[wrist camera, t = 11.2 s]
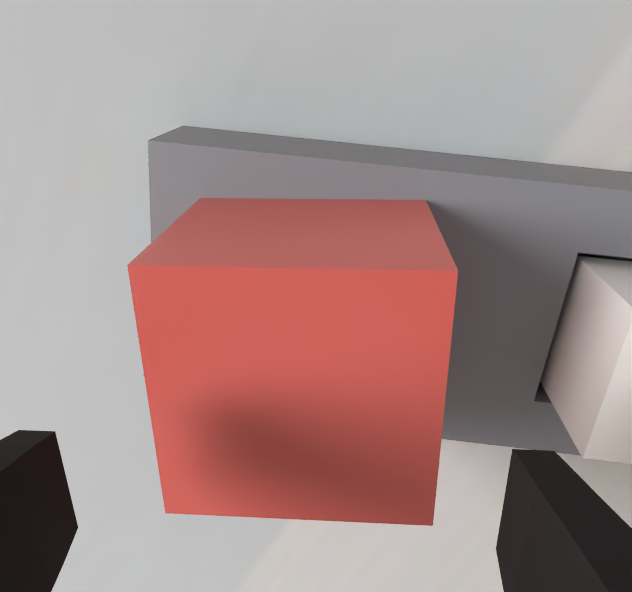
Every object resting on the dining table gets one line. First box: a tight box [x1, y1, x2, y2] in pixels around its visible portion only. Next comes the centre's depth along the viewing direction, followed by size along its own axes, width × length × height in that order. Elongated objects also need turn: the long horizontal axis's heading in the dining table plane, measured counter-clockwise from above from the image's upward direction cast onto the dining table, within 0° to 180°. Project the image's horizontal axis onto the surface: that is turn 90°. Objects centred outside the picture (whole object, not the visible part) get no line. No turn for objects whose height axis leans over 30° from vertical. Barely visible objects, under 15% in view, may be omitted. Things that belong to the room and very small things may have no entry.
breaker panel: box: [148, 126, 632, 455], centre depth 17 cm, size 18×8×3 cm, turn 85°
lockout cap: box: [128, 198, 458, 526], centre depth 13 cm, size 6×6×5 cm
